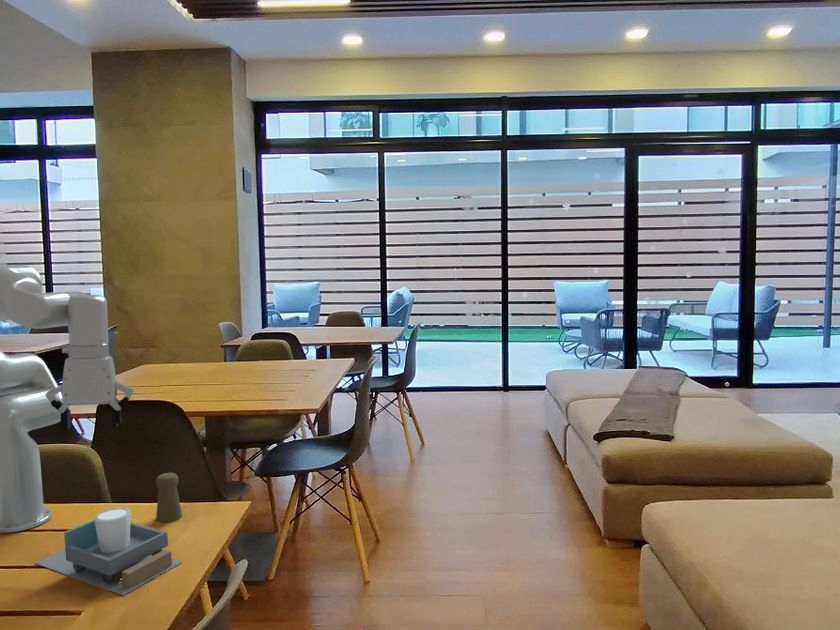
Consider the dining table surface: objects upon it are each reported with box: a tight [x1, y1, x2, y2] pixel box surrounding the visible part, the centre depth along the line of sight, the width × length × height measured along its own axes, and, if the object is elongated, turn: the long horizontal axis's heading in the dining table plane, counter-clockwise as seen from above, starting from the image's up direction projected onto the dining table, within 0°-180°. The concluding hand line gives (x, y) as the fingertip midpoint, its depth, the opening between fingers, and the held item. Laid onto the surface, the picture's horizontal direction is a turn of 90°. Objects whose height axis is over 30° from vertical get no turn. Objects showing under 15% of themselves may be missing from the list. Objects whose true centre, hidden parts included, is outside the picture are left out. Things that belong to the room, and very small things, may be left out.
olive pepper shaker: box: [155, 472, 183, 524], centre depth 151 cm, size 6×6×11 cm
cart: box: [63, 507, 169, 583], centre depth 127 cm, size 14×14×8 cm
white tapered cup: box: [93, 507, 132, 553], centre depth 128 cm, size 7×7×7 cm
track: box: [34, 549, 183, 597], centre depth 129 cm, size 28×14×3 cm, turn 63°
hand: (91, 427), depth 136 cm, fingers open, 9 cm apart
